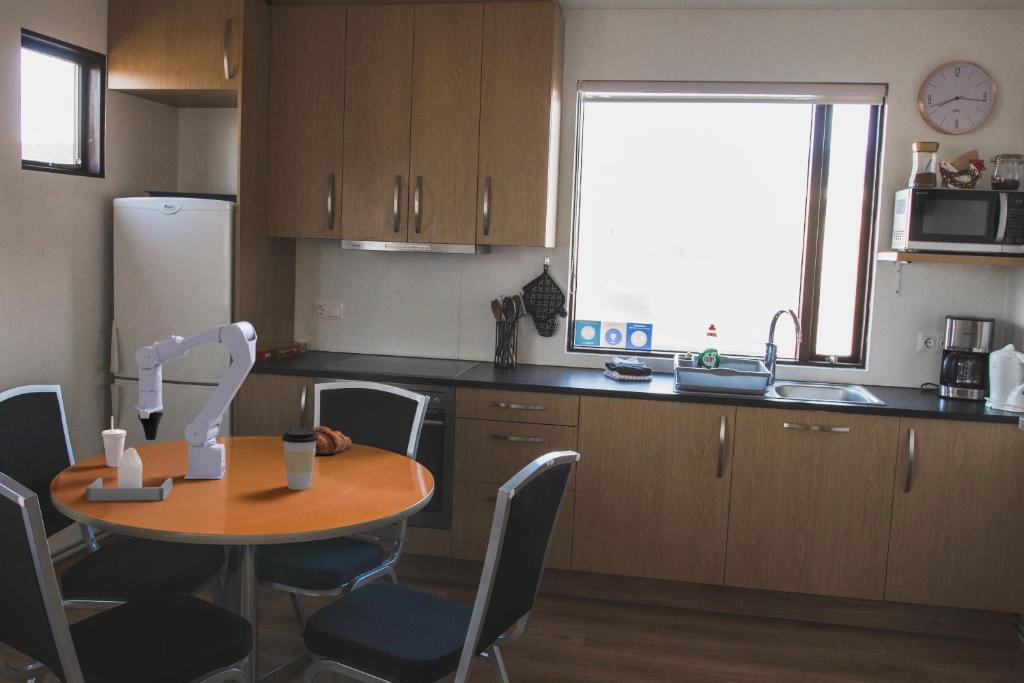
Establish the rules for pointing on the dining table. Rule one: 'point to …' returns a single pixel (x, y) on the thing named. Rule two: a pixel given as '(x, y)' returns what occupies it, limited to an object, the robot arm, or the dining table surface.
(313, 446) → the coffee cup
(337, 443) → the pastry
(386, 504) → the dining table surface
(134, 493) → the box
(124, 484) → the white rounded-top container
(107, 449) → the smoothie
